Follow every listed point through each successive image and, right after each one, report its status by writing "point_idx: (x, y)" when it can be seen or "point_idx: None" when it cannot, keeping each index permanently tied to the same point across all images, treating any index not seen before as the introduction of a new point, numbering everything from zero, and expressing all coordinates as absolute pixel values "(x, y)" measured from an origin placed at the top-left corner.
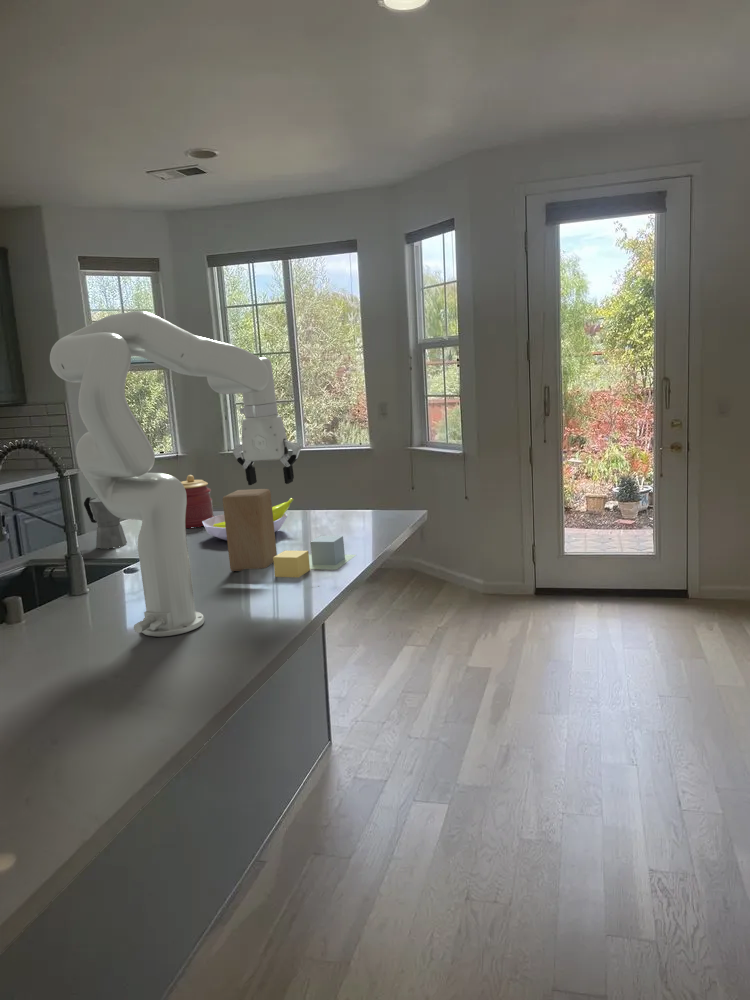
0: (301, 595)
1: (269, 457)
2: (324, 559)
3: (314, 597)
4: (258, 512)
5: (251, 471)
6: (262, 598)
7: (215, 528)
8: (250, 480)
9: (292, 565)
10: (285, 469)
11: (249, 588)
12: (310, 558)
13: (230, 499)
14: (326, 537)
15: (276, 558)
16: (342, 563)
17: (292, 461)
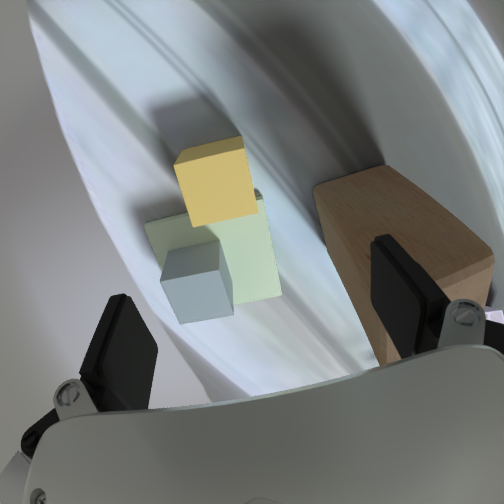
0: (110, 75)
1: (137, 434)
2: (189, 252)
3: (79, 80)
4: (363, 261)
5: (406, 316)
6: (179, 24)
7: (485, 311)
8: (383, 253)
9: (191, 155)
10: (85, 360)
11: (263, 69)
12: (256, 273)
13: (469, 256)
14: (207, 307)
15: (234, 149)
16: (163, 263)
17: (46, 417)
